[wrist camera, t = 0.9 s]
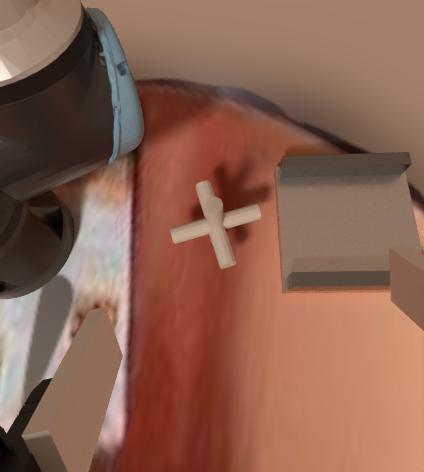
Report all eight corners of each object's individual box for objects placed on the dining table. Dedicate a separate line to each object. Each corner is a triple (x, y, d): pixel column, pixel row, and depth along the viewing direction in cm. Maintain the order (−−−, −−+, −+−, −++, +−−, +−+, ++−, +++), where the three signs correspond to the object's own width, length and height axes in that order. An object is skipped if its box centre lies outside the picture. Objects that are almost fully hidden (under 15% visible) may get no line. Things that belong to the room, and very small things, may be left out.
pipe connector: (188, 287, 41) (176, 267, 32) (169, 214, 45) (152, 175, 35) (268, 264, 42) (279, 236, 32) (243, 192, 45) (246, 149, 36)
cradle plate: (282, 293, 41) (287, 286, 37) (274, 172, 46) (278, 156, 42) (422, 291, 40) (443, 285, 36) (397, 169, 45) (413, 152, 41)
